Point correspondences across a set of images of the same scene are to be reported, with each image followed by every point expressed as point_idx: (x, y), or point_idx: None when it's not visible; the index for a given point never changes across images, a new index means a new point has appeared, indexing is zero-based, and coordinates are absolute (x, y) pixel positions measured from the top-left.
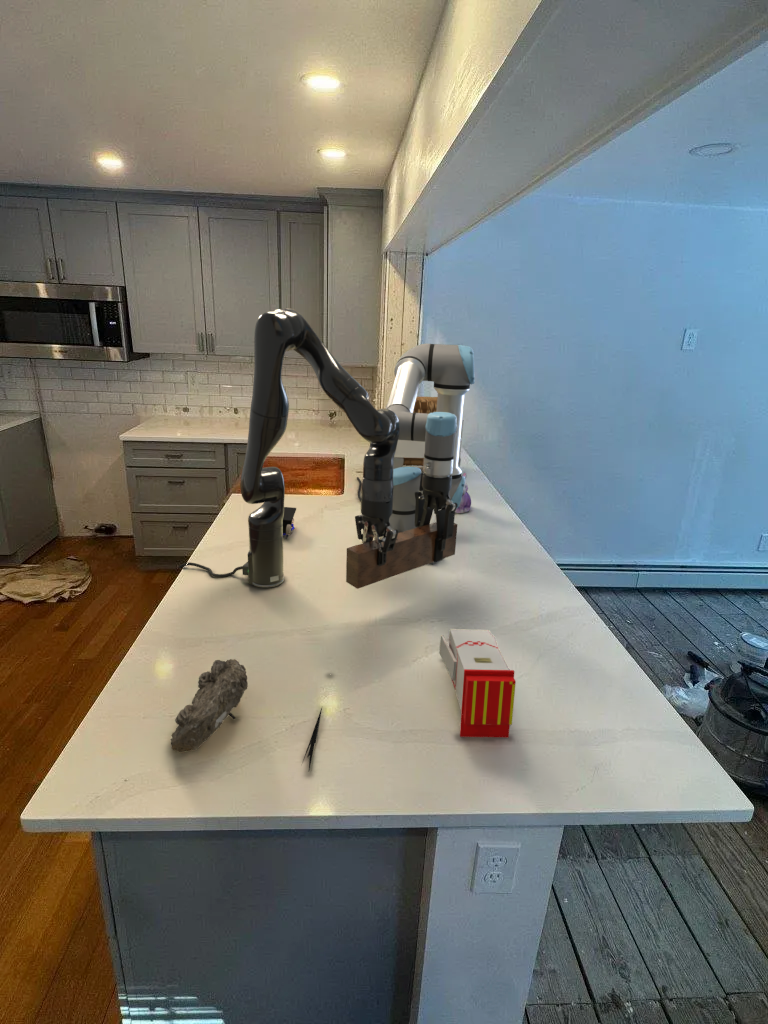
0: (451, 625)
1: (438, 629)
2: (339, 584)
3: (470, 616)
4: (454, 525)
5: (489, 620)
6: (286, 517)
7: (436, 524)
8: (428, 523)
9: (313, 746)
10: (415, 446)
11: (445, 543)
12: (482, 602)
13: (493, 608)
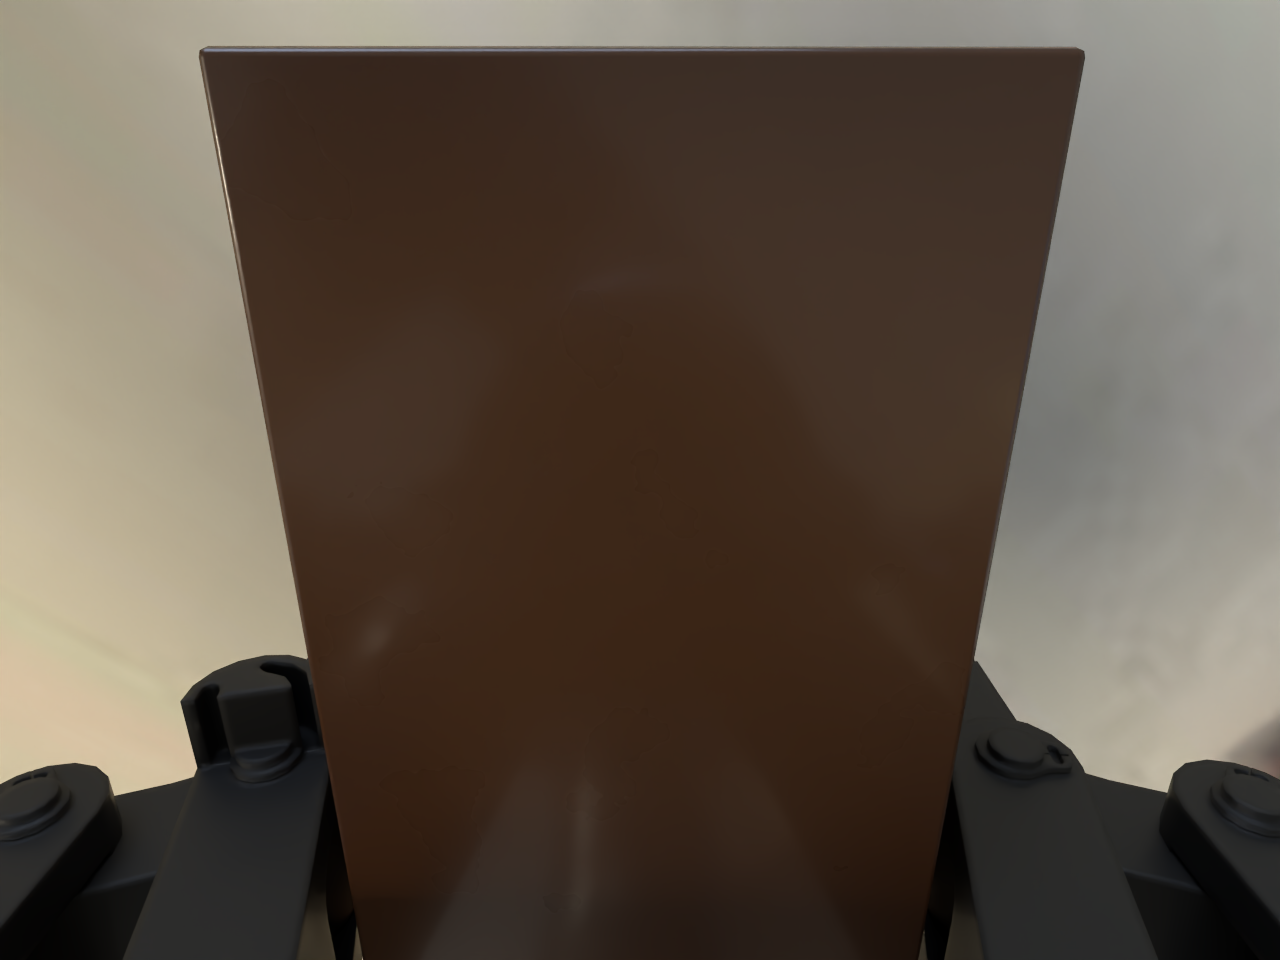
0: (1049, 534)
1: (1010, 634)
2: (121, 754)
3: (1090, 324)
4: (1035, 289)
5: (1249, 242)
6: None
7: (526, 814)
8: (315, 943)
9: None
10: None
11: (990, 684)
12: (1043, 18)
13: (1185, 24)
